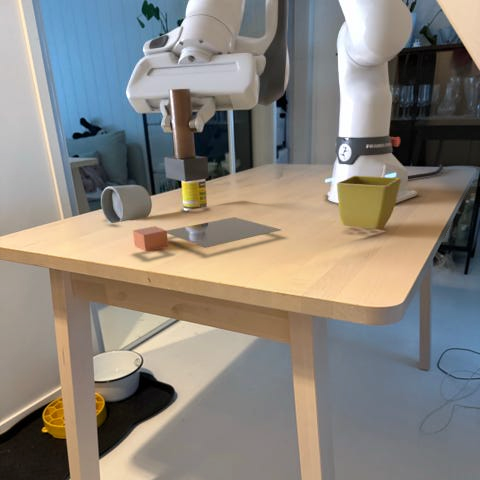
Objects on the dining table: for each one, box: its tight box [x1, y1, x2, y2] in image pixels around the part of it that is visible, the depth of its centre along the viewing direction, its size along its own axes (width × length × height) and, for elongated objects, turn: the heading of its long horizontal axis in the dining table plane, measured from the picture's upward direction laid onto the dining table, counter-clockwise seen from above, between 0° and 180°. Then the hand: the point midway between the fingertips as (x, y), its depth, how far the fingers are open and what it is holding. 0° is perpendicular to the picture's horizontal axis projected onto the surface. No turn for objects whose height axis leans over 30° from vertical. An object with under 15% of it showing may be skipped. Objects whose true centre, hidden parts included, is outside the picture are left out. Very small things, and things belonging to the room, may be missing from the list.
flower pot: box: [337, 176, 401, 231], centre depth 81 cm, size 9×9×9 cm
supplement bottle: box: [180, 179, 208, 211], centre depth 104 cm, size 5×5×10 cm
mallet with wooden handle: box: [163, 89, 210, 182], centre depth 67 cm, size 4×6×12 cm, turn 36°
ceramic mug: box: [100, 184, 153, 224], centre depth 96 cm, size 11×8×8 cm
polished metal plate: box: [166, 216, 282, 249], centre depth 82 cm, size 16×14×2 cm
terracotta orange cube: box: [132, 226, 169, 252], centre depth 74 cm, size 4×4×4 cm
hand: (180, 129), depth 66 cm, fingers closed on mallet with wooden handle, 3 cm apart
